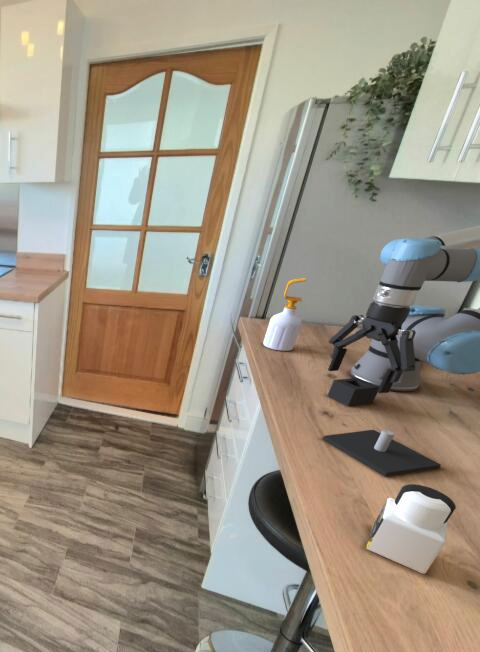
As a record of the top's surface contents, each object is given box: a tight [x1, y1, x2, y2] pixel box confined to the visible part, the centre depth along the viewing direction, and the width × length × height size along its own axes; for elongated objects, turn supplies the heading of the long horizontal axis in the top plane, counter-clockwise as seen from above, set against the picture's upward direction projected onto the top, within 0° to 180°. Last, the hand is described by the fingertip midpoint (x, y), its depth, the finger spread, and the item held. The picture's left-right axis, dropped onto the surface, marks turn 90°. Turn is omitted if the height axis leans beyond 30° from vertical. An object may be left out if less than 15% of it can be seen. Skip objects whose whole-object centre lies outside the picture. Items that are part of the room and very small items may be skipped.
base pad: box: [322, 429, 442, 477], centre depth 94 cm, size 14×14×6 cm
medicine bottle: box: [366, 483, 457, 575], centre depth 69 cm, size 7×7×12 cm
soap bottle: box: [262, 277, 307, 352], centre depth 148 cm, size 9×9×25 cm
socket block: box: [327, 377, 379, 407], centre depth 117 cm, size 8×6×5 cm
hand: (356, 380), depth 115 cm, fingers open, 13 cm apart
